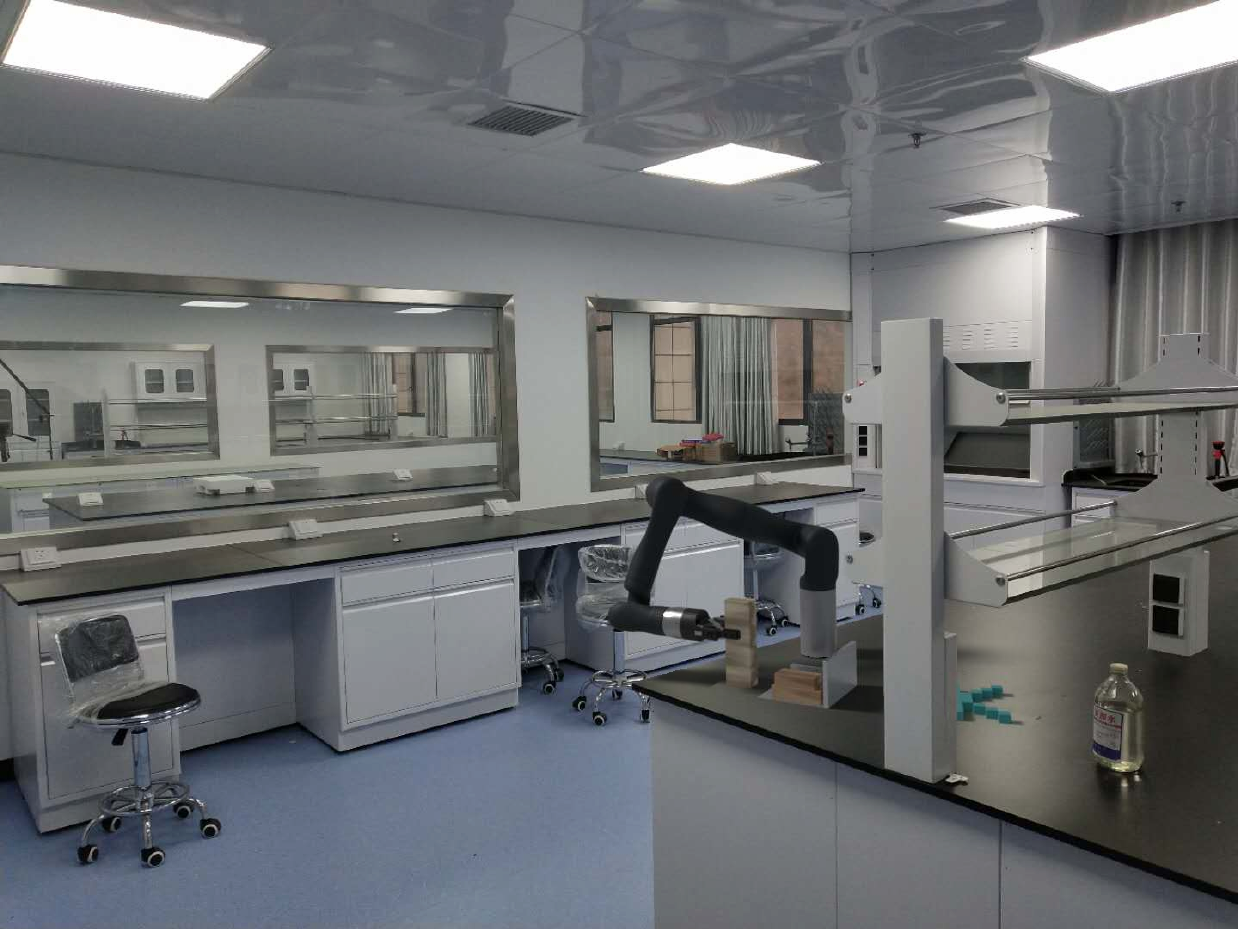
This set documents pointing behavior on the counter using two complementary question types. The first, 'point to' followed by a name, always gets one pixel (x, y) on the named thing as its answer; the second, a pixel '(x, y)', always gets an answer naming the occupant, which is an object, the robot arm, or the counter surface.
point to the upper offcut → (798, 679)
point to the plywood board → (741, 642)
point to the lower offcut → (798, 693)
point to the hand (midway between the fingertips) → (748, 631)
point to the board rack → (830, 676)
